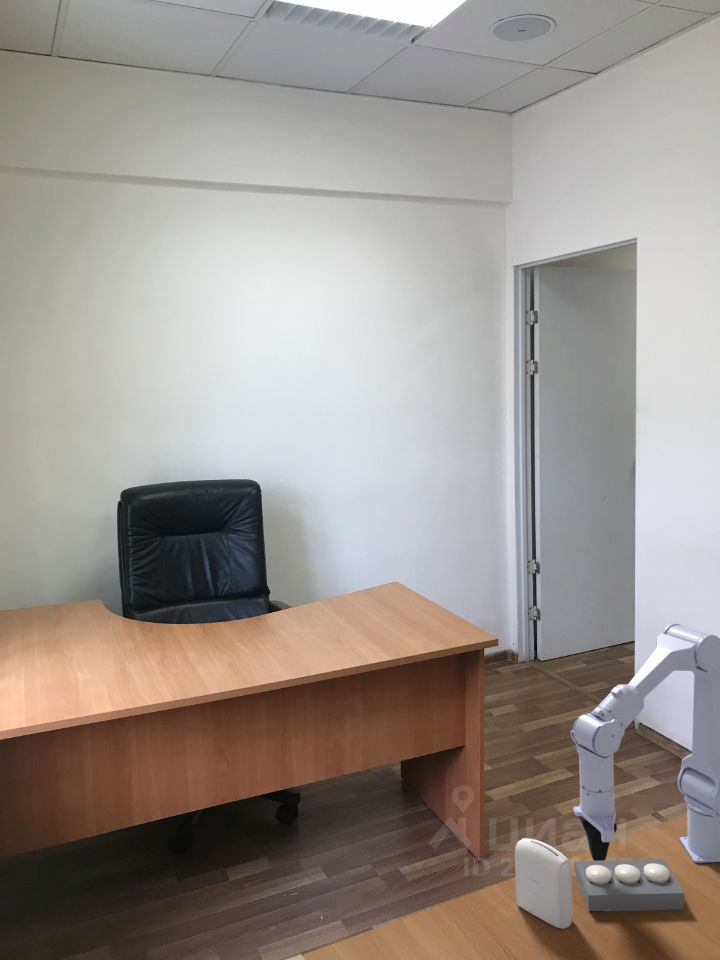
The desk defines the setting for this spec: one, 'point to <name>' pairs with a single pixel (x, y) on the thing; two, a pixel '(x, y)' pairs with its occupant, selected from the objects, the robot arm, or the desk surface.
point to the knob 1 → (598, 874)
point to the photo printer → (544, 882)
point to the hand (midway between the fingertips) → (598, 858)
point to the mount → (629, 889)
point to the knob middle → (627, 874)
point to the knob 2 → (656, 873)
